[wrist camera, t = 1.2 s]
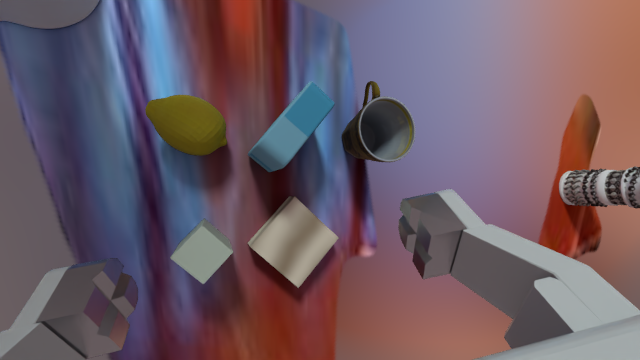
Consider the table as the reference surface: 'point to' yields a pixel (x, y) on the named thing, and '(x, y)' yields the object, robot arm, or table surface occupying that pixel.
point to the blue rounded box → (292, 128)
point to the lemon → (188, 124)
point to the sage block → (202, 251)
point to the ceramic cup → (380, 129)
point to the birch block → (293, 240)
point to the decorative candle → (601, 187)
